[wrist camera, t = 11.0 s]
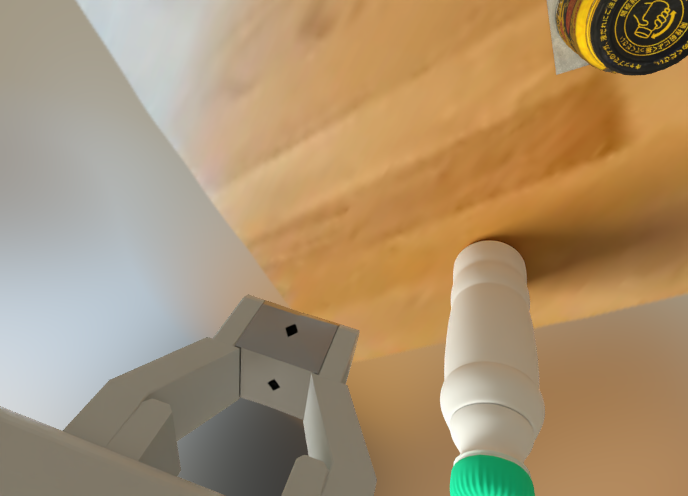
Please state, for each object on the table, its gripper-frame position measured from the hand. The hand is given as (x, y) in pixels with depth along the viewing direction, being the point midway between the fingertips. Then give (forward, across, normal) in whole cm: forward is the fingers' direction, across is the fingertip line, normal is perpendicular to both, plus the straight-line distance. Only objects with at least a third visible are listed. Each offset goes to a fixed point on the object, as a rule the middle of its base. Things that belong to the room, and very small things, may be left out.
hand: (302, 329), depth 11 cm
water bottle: (+31, -11, +17) cm, 37 cm away
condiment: (+31, -11, -8) cm, 34 cm away
